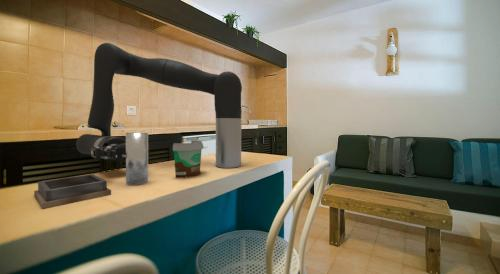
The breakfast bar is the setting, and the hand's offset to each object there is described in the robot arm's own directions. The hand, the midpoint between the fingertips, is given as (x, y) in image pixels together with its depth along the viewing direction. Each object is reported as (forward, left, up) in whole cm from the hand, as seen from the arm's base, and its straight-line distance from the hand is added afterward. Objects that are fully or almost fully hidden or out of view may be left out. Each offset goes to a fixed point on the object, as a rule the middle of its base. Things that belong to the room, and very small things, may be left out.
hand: (131, 153), depth 62 cm
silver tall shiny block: (+2, +3, -8) cm, 8 cm away
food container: (-9, +14, -8) cm, 18 cm away
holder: (+13, -5, -8) cm, 16 cm away
